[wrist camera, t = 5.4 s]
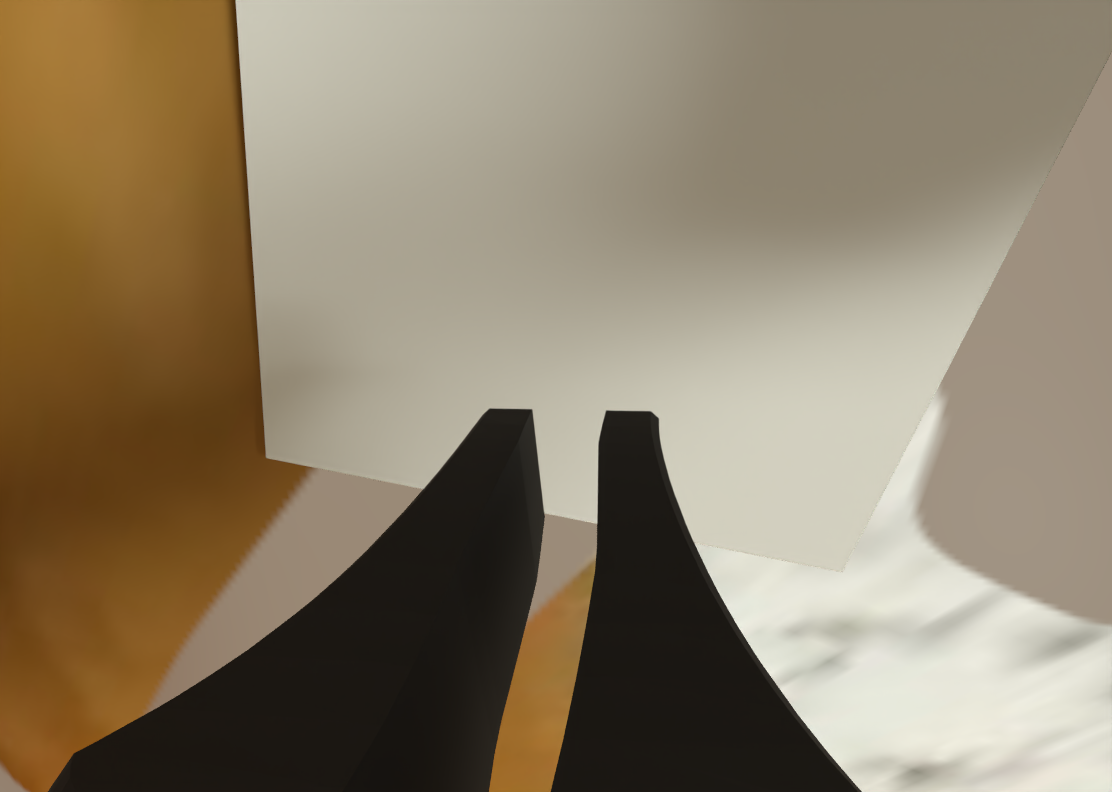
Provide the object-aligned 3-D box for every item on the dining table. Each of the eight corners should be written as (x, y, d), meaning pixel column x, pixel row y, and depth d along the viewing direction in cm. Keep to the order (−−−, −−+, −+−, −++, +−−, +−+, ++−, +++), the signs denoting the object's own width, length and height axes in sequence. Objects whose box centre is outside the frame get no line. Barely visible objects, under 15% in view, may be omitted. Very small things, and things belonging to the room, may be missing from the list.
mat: (1241, -225, 14) (1254, -225, 13) (840, 561, 25) (842, 572, 24) (218, -419, 14) (207, -422, 14) (271, 448, 25) (266, 457, 24)
